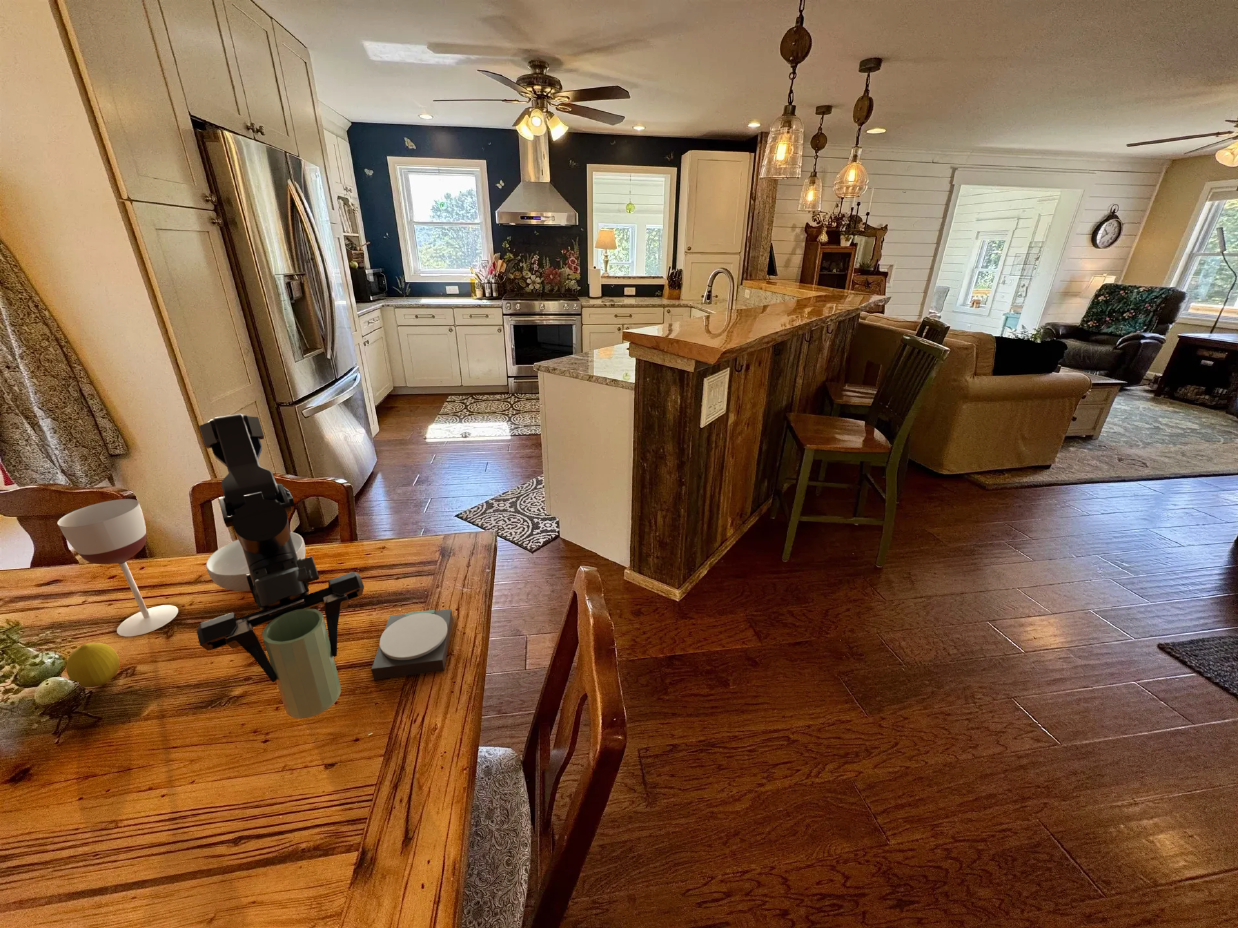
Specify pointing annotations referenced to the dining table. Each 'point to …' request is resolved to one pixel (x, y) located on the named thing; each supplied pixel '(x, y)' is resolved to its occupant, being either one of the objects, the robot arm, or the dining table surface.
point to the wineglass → (116, 552)
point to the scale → (413, 644)
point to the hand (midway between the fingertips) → (305, 668)
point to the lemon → (93, 664)
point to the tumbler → (302, 662)
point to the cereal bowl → (239, 564)
